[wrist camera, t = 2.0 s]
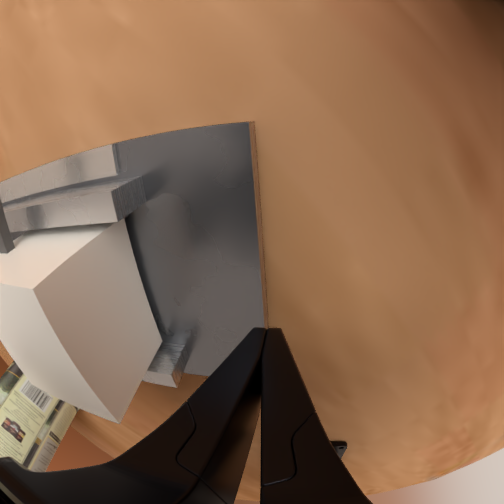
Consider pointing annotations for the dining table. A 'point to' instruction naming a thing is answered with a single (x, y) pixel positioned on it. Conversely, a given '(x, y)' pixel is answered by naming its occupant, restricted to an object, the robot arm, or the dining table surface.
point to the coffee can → (30, 421)
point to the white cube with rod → (77, 314)
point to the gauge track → (168, 231)
